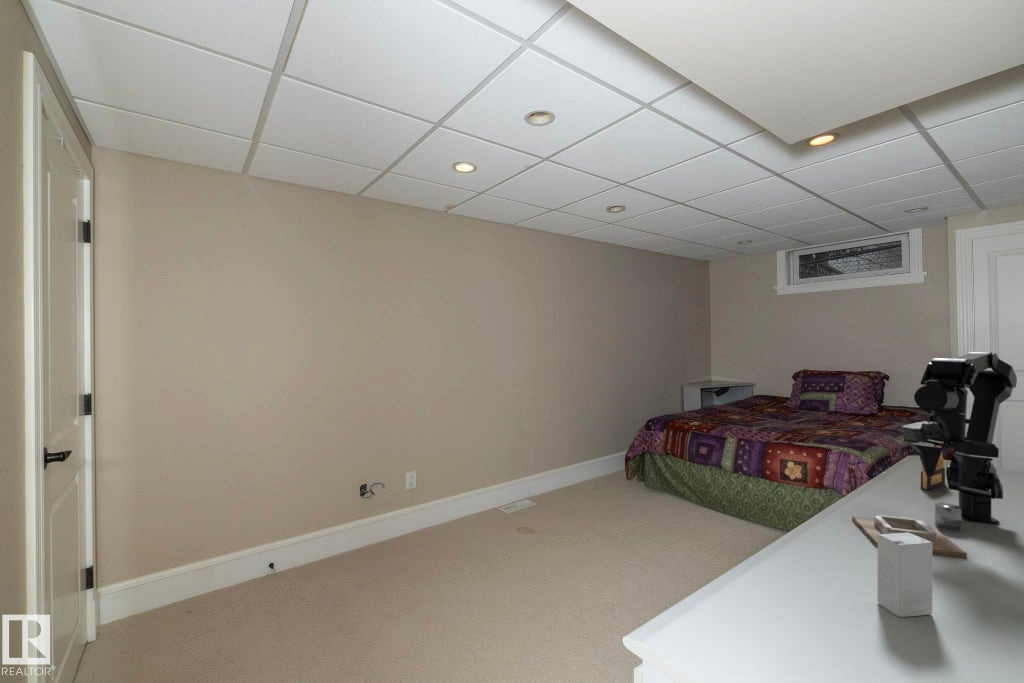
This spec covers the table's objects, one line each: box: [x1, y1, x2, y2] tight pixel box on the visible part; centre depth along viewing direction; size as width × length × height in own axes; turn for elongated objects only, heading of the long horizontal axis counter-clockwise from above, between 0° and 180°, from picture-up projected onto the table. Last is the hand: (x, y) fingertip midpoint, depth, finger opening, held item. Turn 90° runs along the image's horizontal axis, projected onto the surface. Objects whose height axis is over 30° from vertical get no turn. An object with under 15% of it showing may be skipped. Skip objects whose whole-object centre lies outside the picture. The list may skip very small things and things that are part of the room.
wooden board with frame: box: [851, 513, 968, 559], centre depth 101 cm, size 15×15×3 cm
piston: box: [934, 502, 963, 532], centre depth 106 cm, size 4×4×5 cm
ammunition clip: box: [920, 445, 946, 491], centre depth 134 cm, size 11×2×12 cm, turn 117°
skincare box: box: [876, 533, 934, 618], centre depth 75 cm, size 6×4×12 cm
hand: (945, 480), depth 103 cm, fingers open, 9 cm apart
